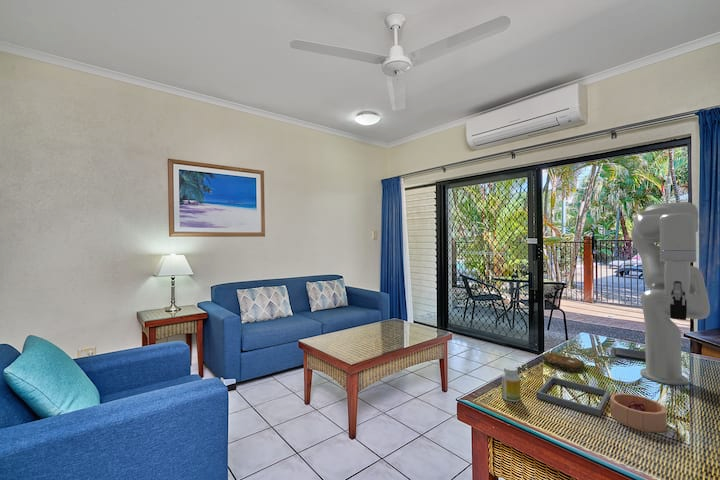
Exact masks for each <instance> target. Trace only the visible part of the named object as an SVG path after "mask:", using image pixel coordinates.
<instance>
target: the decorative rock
mask: <svg viewBox="0 0 720 480" xmlns="http://www.w3.org/2000/svg"><path fill="white" fill-rule="evenodd" d="M540 357H541V358H542V361H544V362H545V363H549V364H551V365H552V366H556V367H561V368H564V369H567V370H570V371H571V372H583V371H584V366H585V362H584V360H581V359H579V358H577V357H571V356H565V355H561V354H558V353H555V352H547V353H543V354H542V355H541V356H540Z"/></svg>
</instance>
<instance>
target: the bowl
mask: <svg viewBox="0 0 720 480" xmlns="http://www.w3.org/2000/svg"><path fill="white" fill-rule="evenodd" d="M633 401H634V402H637V403H641V404H644V407H645V409H646V412H642V411H638V410H634V409H631V408H628V406H629V405H630V404H631V403H632V402H633ZM609 409H610V411H609V413H610V415H611V417H612V418H613V420H615V421H616V422H617V423H620V424H621V425H623V426H626V427H627V428H629V429H630V428H631V429H634V430H637V431H641V432H647V433H654V434H655V433H656V434H657V433H664V432H666V431H667V408H666V406H664V405H663V404H661V403H660V402H659V401H656V400H653V399H651V398H648V397H646V396H642V395H638V394H632V393H623V392H619V393H612V394H611V395H610V397H609Z"/></svg>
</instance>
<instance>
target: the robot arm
mask: <svg viewBox="0 0 720 480" xmlns="http://www.w3.org/2000/svg"><path fill="white" fill-rule="evenodd" d="M698 231H699V210H698V207H697V206H696V205H695V204H694V203H692V202H689V201H683V202H668V203H667V202H666V203H665V202H663V203H656V204H655V203H654V204H651V205H649V206H648V207H646V208H645V209H644V211H641V212H638V213H637V214H636V215H635V216H634V219H633V226H632V228H631V231H630V235H631V241H632V244H633V247H634V248H635V250H636V252H637V254H638V255H639V257H640V260H641V269H642V276H643V282H644V284H645V286H646V287H647V288H649V289H647V290H644V291H643V293H642V294H641V295H640V303H641V308H642V312H643V319H644V339H645V340H644V342H645V343H644V344H645V346H644V347H645V349H644V351H645V354H646V362H645V368H641V369H640V370H639V371H640V375H641V376H643V377H644V378H646V379H649V381H650V380H651V381H654V382H658V383H662V384H666V385H674V386H675V385H676V386H683V385H684V386H685V385H688V383H689V379H688V377H686V376H685V375H683V370H682V369H683V366H682V364H683V363H682V332H681V329H680V328H679V326H678V325H677V324H676V323H675V322H673V321H672V319H673V320H679V321H686V320H687V319H691V320H704V319H707V318H709V316H710V313H711V307H710V306H711V305H710V299H709V296H708V291H707V287H706V283H705V279H704V278H705V277H704V275H703V273H702V271H701V270H700V269H699V268H698V267H696V266H695V265H691V263H696V262H697V232H698ZM658 243H659V245H658Z"/></svg>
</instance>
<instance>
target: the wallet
mask: <svg viewBox="0 0 720 480" xmlns="http://www.w3.org/2000/svg"><path fill="white" fill-rule="evenodd" d="M609 357H611V358H615V359H623V360H626V361H628V360H629V361H636V362H641V363H646V354H645V350H643V351H642V350H637V349H629V348H623V347H611V349H610V356H609Z"/></svg>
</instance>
